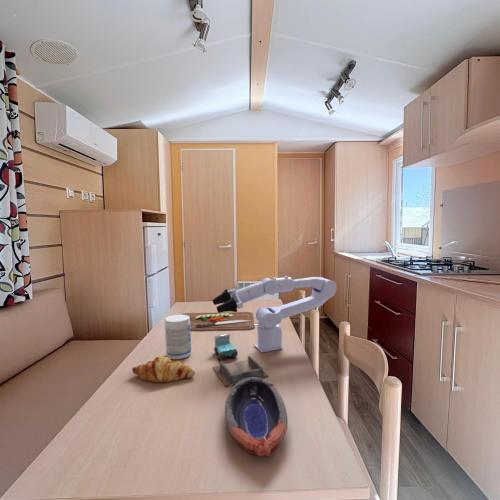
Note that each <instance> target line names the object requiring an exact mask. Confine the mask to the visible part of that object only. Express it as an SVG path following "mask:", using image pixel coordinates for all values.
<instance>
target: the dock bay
mask: <svg viewBox="0 0 500 500" xmlns="http://www.w3.org/2000/svg"><path fill="white" fill-rule="evenodd" d="M212 369H213V371H214V372H215V374H216V375H217V377H218V378H219V380H220V381H221V383H222V384H223V386H224V387H229V386H235V385H236V384H237V383H238V382H239V381H241V380H243V379H245V378H249V377H257V378H261V379H265V378H269V375H268V374H267V373H266V372H265V371H264V368H263V367H262V365H260V364H259V363H258V362H257V360H255V359H254V358H253V357H252V356H251V355H247V359H244V360H239V361H235V362H230V363H225V364H224V363H223V360H221V361H219V365H216V366H212Z"/></svg>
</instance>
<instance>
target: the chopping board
mask: <svg viewBox="0 0 500 500" xmlns="http://www.w3.org/2000/svg"><path fill="white" fill-rule="evenodd" d="M180 315H187V316H189V317H190V330H191V332H204V331H205V332H207V331H208V332H211V331H214V332H215V331H251V330H254V329H255V327H256V326H257V325H258V322H259V321H258V320H257V319H256V321H257V324H255V318H256V315H254V313H253V312H251V311H243V312H242V311H237V312H231V311H229V312H220V313H218V312H186V313H185V312H184V313H181V314H180Z"/></svg>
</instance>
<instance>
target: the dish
mask: <svg viewBox="0 0 500 500" xmlns="http://www.w3.org/2000/svg"><path fill="white" fill-rule="evenodd" d="M224 414H225V424H226V425H227V429H228V431H229V433H230V435H231V437H232V439H233V440H234V441H235V442H236V444H237V445H238V446H239V447H241V448H243V449H244V450H245V451H246V452H248V453H249V454H252V455H255V456H259V457H270V456H272V455H273V454H274V453H275V452H276V450H277V448H278V447H279V445H280V443H281V442H282V440H283V438H284V437H285V434H286V432H287V429H288V413H287V409H286V405H285V402H284V399H283V397H282V396H281V394H280V392H279V391H278V390H277V388H276V387H275V385H274V384H273V382H272V381H268V380H265V378H257V377H249V378H245V379H243V380H241V381H239V382H238V383H237V384H235V385H233V386H232V388H231V389H230V391H229V392H228V394H227V396H226V400H225V406H224Z"/></svg>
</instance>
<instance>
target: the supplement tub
mask: <svg viewBox="0 0 500 500" xmlns="http://www.w3.org/2000/svg"><path fill="white" fill-rule="evenodd" d="M191 332H192V331H191V330H190V317H189V316H187V315H181V314H175V315H169V316H167V317H165V318H164V333H165V334H164V335H165V339H164V340H165V354H166V357H168V358H170V359H171V360H182V359H186V358H188V357H189V356H190V355H191V354H192V338H191V337H192V335H191V334H192V333H191Z"/></svg>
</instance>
